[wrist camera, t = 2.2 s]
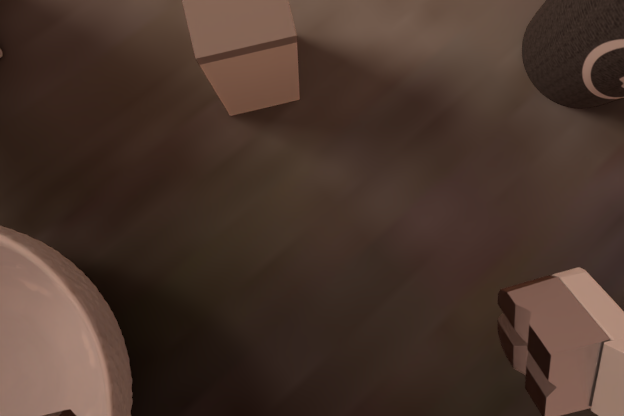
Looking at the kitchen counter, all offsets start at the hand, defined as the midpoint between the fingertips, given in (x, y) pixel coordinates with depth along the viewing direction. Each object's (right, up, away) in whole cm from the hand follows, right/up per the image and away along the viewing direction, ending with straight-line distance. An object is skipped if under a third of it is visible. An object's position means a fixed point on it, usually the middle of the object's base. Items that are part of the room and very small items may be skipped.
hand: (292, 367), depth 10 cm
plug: (-3, +11, +19) cm, 22 cm away
